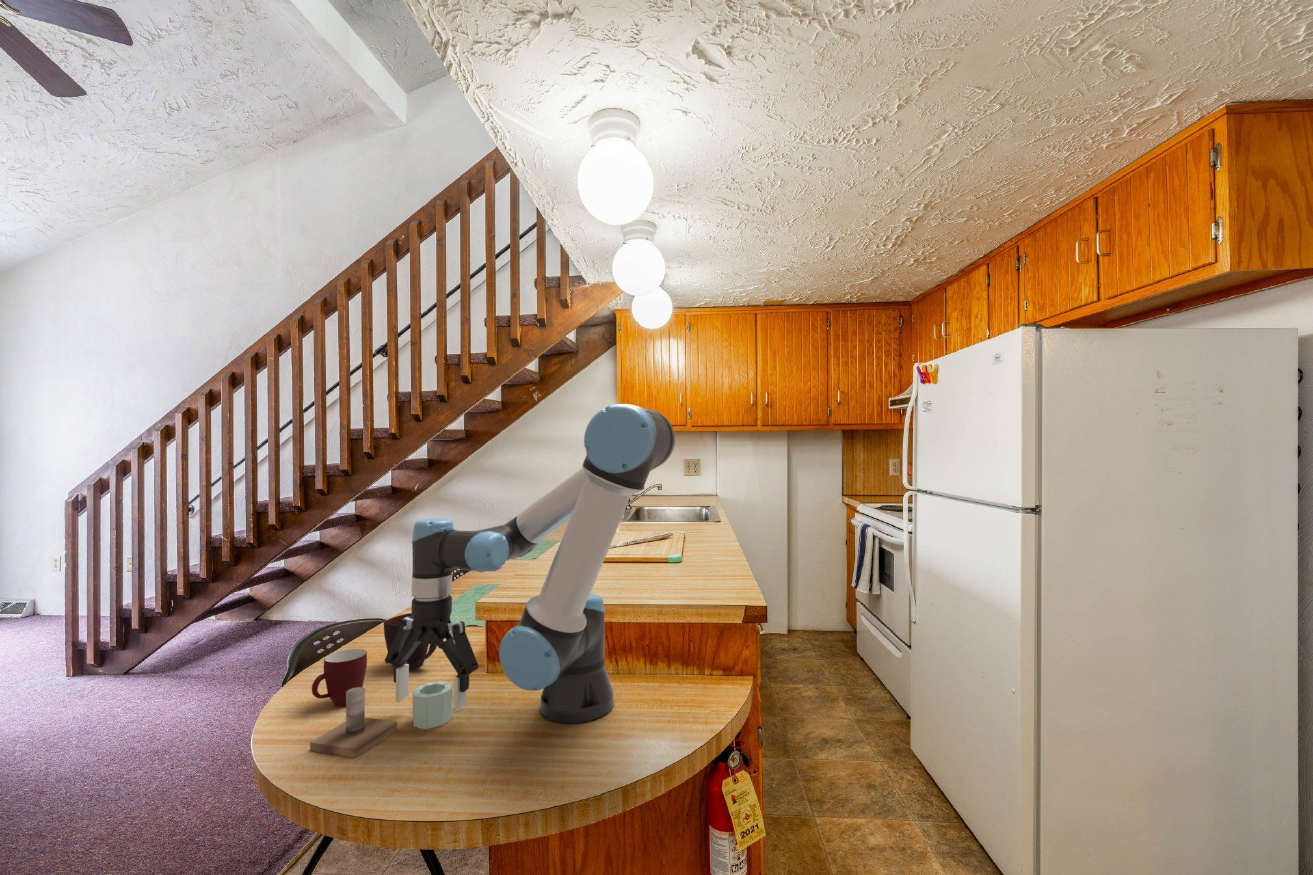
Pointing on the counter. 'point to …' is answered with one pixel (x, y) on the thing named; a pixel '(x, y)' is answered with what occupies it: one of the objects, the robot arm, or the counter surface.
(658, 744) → the counter surface
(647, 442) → the robot arm
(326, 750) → the post stand
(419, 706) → the ring
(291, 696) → the counter surface
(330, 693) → the mug
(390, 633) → the mug
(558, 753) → the counter surface
